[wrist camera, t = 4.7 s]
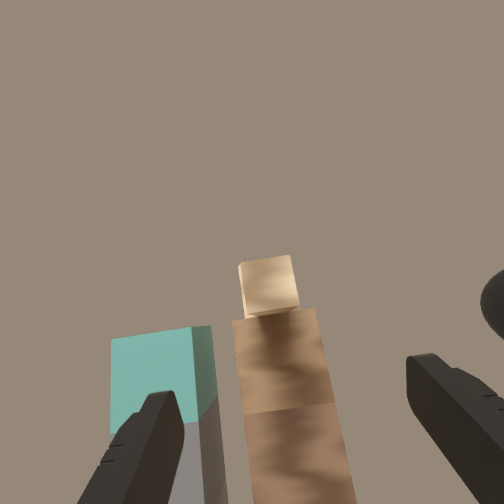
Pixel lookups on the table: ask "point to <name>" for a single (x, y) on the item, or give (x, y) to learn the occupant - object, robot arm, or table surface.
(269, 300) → the beige stepped block
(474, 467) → the robot arm
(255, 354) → the walnut tower
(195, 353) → the gray teal square column
